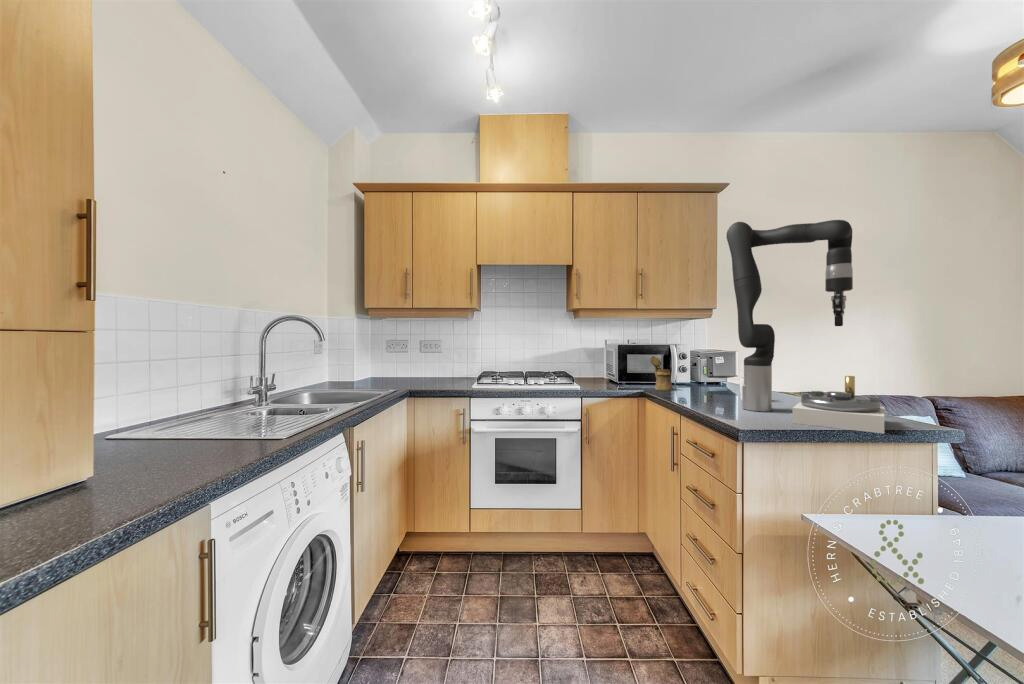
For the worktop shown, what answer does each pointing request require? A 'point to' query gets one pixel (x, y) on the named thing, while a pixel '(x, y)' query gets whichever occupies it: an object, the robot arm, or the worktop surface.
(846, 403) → the handwheel with gold grip
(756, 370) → the robot arm
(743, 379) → the white cup
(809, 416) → the block
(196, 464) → the worktop surface
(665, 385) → the utensil crock with spoon
